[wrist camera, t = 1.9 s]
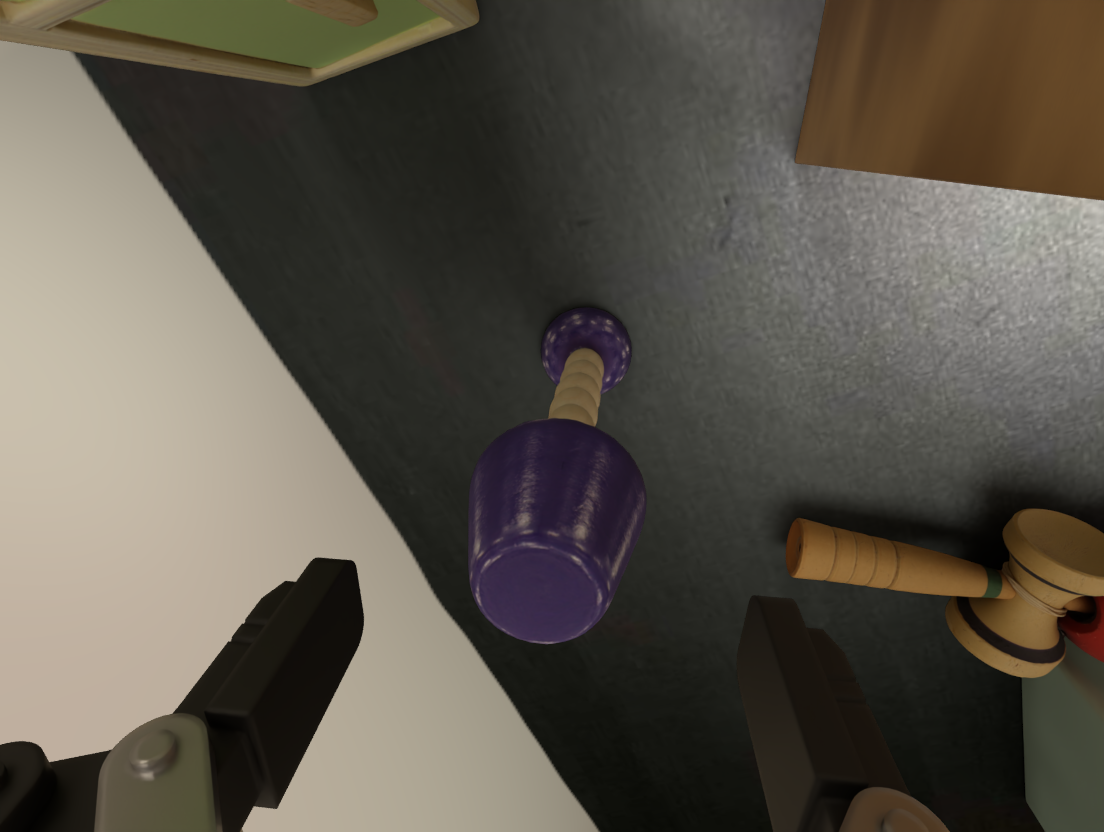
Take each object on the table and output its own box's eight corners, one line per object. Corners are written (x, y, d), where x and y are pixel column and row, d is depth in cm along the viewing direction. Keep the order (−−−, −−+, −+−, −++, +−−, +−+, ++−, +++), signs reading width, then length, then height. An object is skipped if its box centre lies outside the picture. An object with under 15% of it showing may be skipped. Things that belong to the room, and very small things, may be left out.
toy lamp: (517, 368, 28) (405, 637, 13) (554, 278, 26) (471, 471, 11) (608, 405, 28) (605, 710, 13) (651, 320, 26) (706, 564, 11)
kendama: (766, 581, 33) (1126, 651, 30) (785, 650, 27) (1236, 746, 24) (794, 456, 31) (1184, 516, 28) (821, 501, 25) (1322, 584, 22)
